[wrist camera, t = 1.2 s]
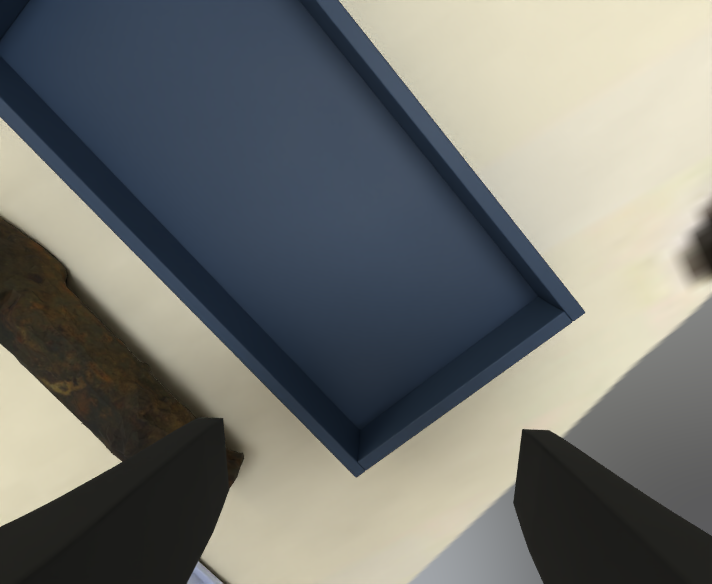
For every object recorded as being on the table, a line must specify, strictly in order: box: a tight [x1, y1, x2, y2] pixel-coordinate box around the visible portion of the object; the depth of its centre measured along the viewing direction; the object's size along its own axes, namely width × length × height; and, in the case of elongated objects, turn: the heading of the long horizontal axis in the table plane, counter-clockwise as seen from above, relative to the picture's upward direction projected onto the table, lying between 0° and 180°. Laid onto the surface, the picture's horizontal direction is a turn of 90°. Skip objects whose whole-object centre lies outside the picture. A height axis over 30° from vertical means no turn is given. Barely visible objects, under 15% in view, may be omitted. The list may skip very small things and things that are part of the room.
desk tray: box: [0, 0, 585, 477], centre depth 16 cm, size 12×25×3 cm, turn 42°
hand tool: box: [0, 218, 244, 488], centre depth 17 cm, size 19×4×5 cm, turn 37°
